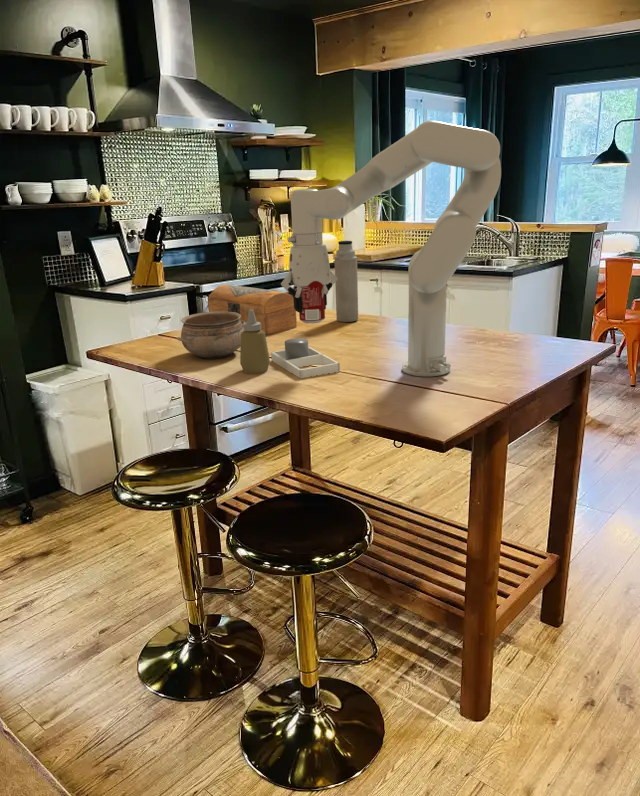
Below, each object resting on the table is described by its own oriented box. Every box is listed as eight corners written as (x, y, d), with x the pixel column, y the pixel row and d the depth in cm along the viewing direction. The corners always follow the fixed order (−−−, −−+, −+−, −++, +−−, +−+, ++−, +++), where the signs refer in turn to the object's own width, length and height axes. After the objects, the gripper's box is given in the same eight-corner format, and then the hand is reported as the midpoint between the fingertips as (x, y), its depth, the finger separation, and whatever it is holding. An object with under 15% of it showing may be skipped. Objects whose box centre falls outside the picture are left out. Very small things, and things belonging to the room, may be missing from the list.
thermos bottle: (345, 315, 237) (343, 239, 227) (362, 318, 232) (361, 240, 222) (332, 320, 231) (329, 241, 221) (349, 322, 226) (346, 242, 216)
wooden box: (207, 326, 231) (203, 288, 226) (241, 317, 242) (237, 281, 237) (263, 338, 212) (260, 297, 207) (297, 327, 223) (295, 288, 218)
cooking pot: (226, 343, 206) (222, 306, 202) (266, 352, 194) (263, 313, 190) (162, 362, 188) (157, 322, 184) (202, 373, 177) (197, 330, 172)
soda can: (322, 324, 164) (320, 278, 160) (297, 324, 165) (294, 278, 161) (327, 318, 170) (325, 273, 166) (302, 318, 171) (300, 273, 167)
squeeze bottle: (274, 370, 176) (269, 306, 170) (266, 379, 169) (261, 313, 163) (246, 369, 178) (241, 306, 172) (237, 378, 171) (231, 313, 164)
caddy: (340, 375, 170) (339, 350, 167) (300, 383, 165) (299, 357, 163) (308, 357, 187) (307, 334, 185) (271, 363, 183) (270, 340, 180)
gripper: (281, 244, 154) (285, 317, 160) (344, 238, 160) (346, 308, 167) (270, 241, 160) (275, 311, 167) (332, 236, 167) (334, 303, 173)
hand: (310, 309), depth 166 cm, fingers closed on soda can, 6 cm apart
